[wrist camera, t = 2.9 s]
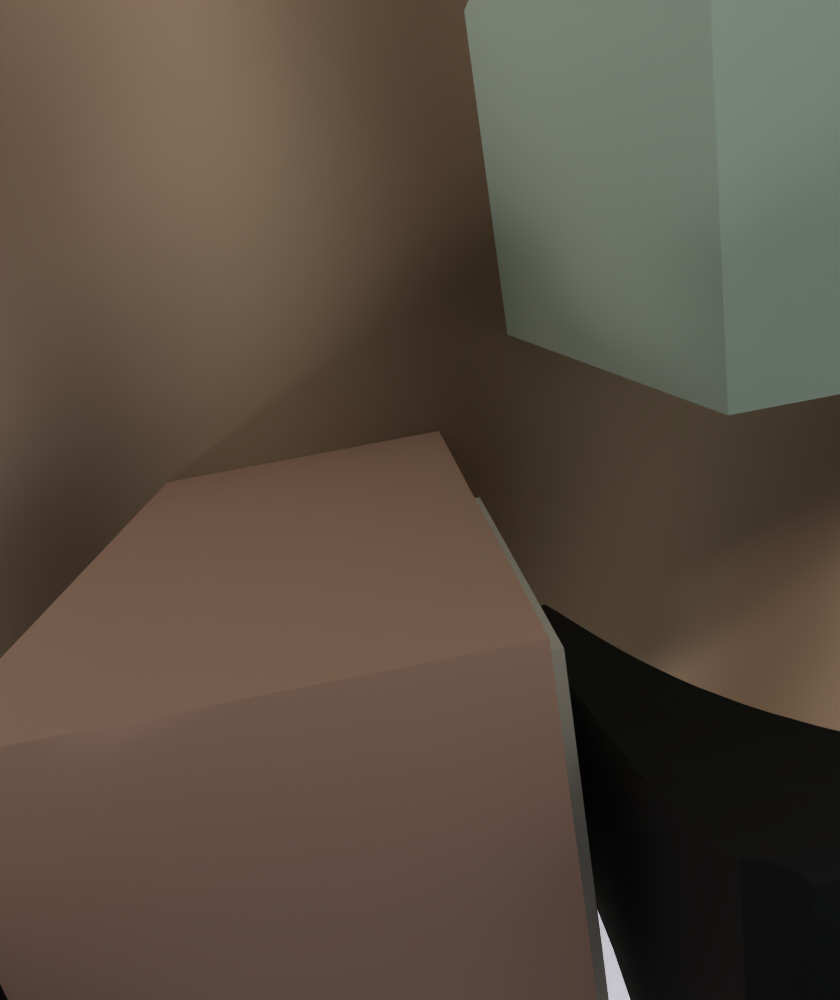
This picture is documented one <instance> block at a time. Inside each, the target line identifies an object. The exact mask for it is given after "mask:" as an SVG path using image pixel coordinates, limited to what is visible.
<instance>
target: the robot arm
mask: <svg viewBox="0 0 840 1000" xmlns="http://www.w3.org/2000/svg"><path fill="white" fill-rule="evenodd" d="M540 606H541V608H542V610H543V611H544V613H545V615H546V617H547V619H548V620H549V622H550V624H551V626H552V628H553V629H554V631H555V633H556V635H557V637H558V638H559V640H560V642H561V644H562V645H563V647H564V652H565V660H566V668H567V676H568V684H569V692H570V700H571V707H572V715H573V723H574V731H575V739H576V747H577V755H578V763H579V771H580V778H581V786H582V794H583V802H584V810H585V818H586V826H587V834H588V842H589V850H590V857H591V865H592V873H593V881H594V889H595V897H596V905H597V910H598V912H599V914H600V917H601V919H602V922H603V924H604V927H605V929H606V932H607V934H608V937H609V939H610V942H611V944H612V947H613V949H614V952H615V955H616V958H617V961H618V964H619V967H620V970H621V973H622V976H623V979H624V982H625V985H626V987H627V990H628V993H629V996H630V999H631V1000H840V731H837V730H833V729H828V728H824V727H820V726H816V725H813V724H809V723H805V722H802V721H798V720H795V719H791V718H788V717H784V716H781V715H777V714H773V713H770V712H767V711H763V710H760V709H757V708H754V707H751V706H748V705H745V704H742V703H739V702H736V701H734V700H731V699H729V698H726V697H723V696H721V695H718V694H715V693H713V692H710V691H707V690H705V689H702V688H699V687H697V686H694V685H692V684H690V683H687V682H685V681H683V680H680V679H678V678H676V677H674V676H672V675H670V674H668V673H666V672H663V671H661V670H659V669H657V668H655V667H653V666H651V665H649V664H647V663H645V662H643V661H641V660H639V659H637V658H635V657H633V656H631V655H629V654H627V653H626V652H624V651H622V650H620V649H618V648H617V647H615V646H613V645H611V644H610V643H608V642H606V641H604V640H603V639H601V638H599V637H598V636H596V635H594V634H593V633H591V632H589V631H588V630H586V629H584V628H583V627H581V626H579V625H578V624H576V623H575V622H573V621H571V620H570V619H568V618H567V617H565V616H563V615H562V614H560V613H559V612H557V611H555V610H554V609H552V608H550V607H549V606H547V605H540ZM0 1000H8V999H7V997H6V995H5V993H4V991H3V989H2V987H1V984H0Z"/></svg>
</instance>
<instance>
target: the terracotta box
mask: <svg viewBox="0 0 840 1000" xmlns="http://www.w3.org/2000/svg"><path fill="white" fill-rule="evenodd" d="M0 984H1V987H2V989H3V991H4V993H5V995H6V997H7V999H8V1000H609V999H608V992H607V984H606V976H605V968H604V960H603V952H602V944H601V936H600V928H599V921H598V913H597V905H596V897H595V889H594V881H593V873H592V865H591V857H590V850H589V842H588V834H587V826H586V818H585V810H584V802H583V794H582V786H581V778H580V771H579V763H578V755H577V747H576V739H575V731H574V723H573V715H572V707H571V700H570V692H569V684H568V676H567V668H566V660H565V652H564V647H563V645H562V644H561V642H560V640H559V638H558V637H557V635H556V633H555V631H554V629H553V628H552V626H551V624H550V622H549V620H548V619H547V617H546V615H545V613H544V611H543V610H542V608H541V606H540V604H539V602H538V601H537V599H536V597H535V595H534V593H533V592H532V590H531V588H530V586H529V585H528V583H527V581H526V579H525V577H524V576H523V574H522V572H521V570H520V568H519V567H518V565H517V563H516V561H515V559H514V558H513V556H512V554H511V552H510V550H509V549H508V547H507V545H506V543H505V541H504V540H503V538H502V536H501V534H500V533H499V531H498V529H497V527H496V525H495V524H494V522H493V520H492V518H491V516H490V515H489V513H488V511H487V509H486V507H485V506H484V504H483V502H482V500H481V498H480V497H478V498H474V496H473V494H472V492H471V490H470V488H469V486H468V484H467V483H466V481H465V479H464V477H463V475H462V473H461V471H460V469H459V467H458V466H457V464H456V462H455V460H454V458H453V456H452V454H451V452H450V451H449V449H448V447H447V445H446V443H445V441H444V439H443V437H442V436H441V434H440V432H439V431H436V432H431V433H426V434H420V435H415V436H410V437H404V438H399V439H394V440H388V441H383V442H378V443H373V444H367V445H362V446H357V447H351V448H346V449H341V450H336V451H330V452H325V453H320V454H314V455H309V456H304V457H299V458H293V459H288V460H283V461H277V462H272V463H267V464H261V465H256V466H251V467H246V468H240V469H235V470H230V471H224V472H219V473H214V474H209V475H203V476H198V477H193V478H187V479H182V480H177V481H172V482H167V483H166V484H165V485H164V486H163V487H162V488H161V489H160V490H159V492H158V493H157V494H156V495H155V496H154V497H153V498H152V499H151V500H150V501H149V502H148V503H147V504H146V505H145V506H144V507H143V508H142V509H141V511H140V512H139V513H138V514H137V515H136V516H135V517H134V518H133V519H132V520H131V521H130V522H129V523H128V524H127V525H126V526H125V527H124V528H123V530H122V531H121V532H120V533H119V534H118V535H117V536H116V537H115V538H114V539H113V540H112V541H111V542H110V543H109V544H108V545H107V546H106V547H105V549H104V550H103V551H102V552H101V553H100V554H99V555H98V556H97V557H96V558H95V559H94V560H93V561H92V562H91V563H90V564H89V565H88V567H87V568H86V569H85V570H84V571H83V572H82V573H81V574H80V575H79V576H78V577H77V578H76V579H75V580H74V581H73V582H72V583H71V584H70V586H69V587H68V588H67V589H66V590H65V591H64V592H63V593H62V594H61V595H60V596H59V597H58V598H57V599H56V600H55V601H54V602H53V603H52V605H51V606H50V607H49V608H48V609H47V610H46V611H45V612H44V613H43V614H42V615H41V616H40V617H39V618H38V619H37V620H36V621H35V622H34V624H33V625H32V626H31V627H30V628H29V629H28V630H27V631H26V632H25V633H24V634H23V635H22V636H21V637H20V638H19V639H18V640H17V641H16V643H15V644H14V645H13V646H12V647H11V648H10V649H9V650H8V651H7V652H6V653H5V654H4V655H3V656H2V657H1V658H0Z"/></svg>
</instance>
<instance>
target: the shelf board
mask: <svg viewBox="0 0 840 1000" xmlns="http://www.w3.org/2000/svg"><path fill="white" fill-rule="evenodd" d="M467 2H468V0H0V658H1V657H2V656H3V655H4V654H5V653H6V652H7V651H8V650H9V649H10V648H11V647H12V646H13V645H14V644H15V643H16V641H17V640H18V639H19V638H20V637H21V636H22V635H23V634H24V633H25V632H26V631H27V630H28V629H29V628H30V627H31V626H32V625H33V624H34V622H35V621H36V620H37V619H38V618H39V617H40V616H41V615H42V614H43V613H44V612H45V611H46V610H47V609H48V608H49V607H50V606H51V605H52V603H53V602H54V601H55V600H56V599H57V598H58V597H59V596H60V595H61V594H62V593H63V592H64V591H65V590H66V589H67V588H68V587H69V586H70V584H71V583H72V582H73V581H74V580H75V579H76V578H77V577H78V576H79V575H80V574H81V573H82V572H83V571H84V570H85V569H86V568H87V567H88V565H89V564H90V563H91V562H92V561H93V560H94V559H95V558H96V557H97V556H98V555H99V554H100V553H101V552H102V551H103V550H104V549H105V547H106V546H107V545H108V544H109V543H110V542H111V541H112V540H113V539H114V538H115V537H116V536H117V535H118V534H119V533H120V532H121V531H122V530H123V528H124V527H125V526H126V525H127V524H128V523H129V522H130V521H131V520H132V519H133V518H134V517H135V516H136V515H137V514H138V513H139V512H140V511H141V509H142V508H143V507H144V506H145V505H146V504H147V503H148V502H149V501H150V500H151V499H152V498H153V497H154V496H155V495H156V494H157V493H158V492H159V490H160V489H161V488H162V487H163V486H164V485H165V484H166V483H167V482H172V481H177V480H182V479H187V478H193V477H198V476H203V475H209V474H214V473H219V472H224V471H230V470H235V469H240V468H246V467H251V466H256V465H261V464H267V463H272V462H277V461H283V460H288V459H293V458H299V457H304V456H309V455H314V454H320V453H325V452H330V451H336V450H341V449H346V448H351V447H357V446H362V445H367V444H373V443H378V442H383V441H388V440H394V439H399V438H404V437H410V436H415V435H420V434H426V433H431V432H436V431H439V432H440V434H441V436H442V437H443V439H444V441H445V443H446V445H447V447H448V449H449V451H450V452H451V454H452V456H453V458H454V460H455V462H456V464H457V466H458V467H459V469H460V471H461V473H462V475H463V477H464V479H465V481H466V483H467V484H468V486H469V488H470V490H471V492H472V494H473V496H474V498H478V497H480V498H481V500H482V502H483V504H484V506H485V507H486V509H487V511H488V513H489V515H490V516H491V518H492V520H493V522H494V524H495V525H496V527H497V529H498V531H499V533H500V534H501V536H502V538H503V540H504V541H505V543H506V545H507V547H508V549H509V550H510V552H511V554H512V556H513V558H514V559H515V561H516V563H517V565H518V567H519V568H520V570H521V572H522V574H523V576H524V577H525V579H526V581H527V583H528V585H529V586H530V588H531V590H532V592H533V593H534V595H535V597H536V599H537V601H538V602H539V604H540V605H547V606H549V607H550V608H552V609H554V610H555V611H557V612H559V613H560V614H562V615H563V616H565V617H567V618H568V619H570V620H571V621H573V622H575V623H576V624H578V625H579V626H581V627H583V628H584V629H586V630H588V631H589V632H591V633H593V634H594V635H596V636H598V637H599V638H601V639H603V640H604V641H606V642H608V643H610V644H611V645H613V646H615V647H617V648H618V649H620V650H622V651H624V652H626V653H627V654H629V655H631V656H633V657H635V658H637V659H639V660H641V661H643V662H645V663H647V664H649V665H651V666H653V667H655V668H657V669H659V670H661V671H663V672H666V673H668V674H670V675H672V676H674V677H676V678H678V679H680V680H683V681H685V682H687V683H690V684H692V685H694V686H697V687H699V688H702V689H705V690H707V691H710V692H713V693H715V694H718V695H721V696H723V697H726V698H729V699H731V700H734V701H736V702H739V703H742V704H745V705H748V706H751V707H754V708H757V709H760V710H763V711H767V712H770V713H773V714H777V715H781V716H784V717H788V718H791V719H795V720H798V721H802V722H805V723H809V724H813V725H816V726H820V727H824V728H828V729H833V730H837V731H840V394H838V395H833V396H827V397H822V398H817V399H812V400H806V401H801V402H796V403H791V404H785V405H780V406H775V407H770V408H764V409H759V410H754V411H749V412H743V413H738V414H733V415H726V414H723V413H720V412H717V411H715V410H712V409H709V408H707V407H704V406H701V405H698V404H696V403H693V402H690V401H687V400H685V399H682V398H679V397H676V396H674V395H671V394H668V393H666V392H663V391H660V390H657V389H655V388H652V387H649V386H646V385H644V384H641V383H638V382H636V381H633V380H630V379H627V378H625V377H622V376H619V375H616V374H614V373H611V372H608V371H605V370H603V369H600V368H597V367H595V366H592V365H589V364H586V363H584V362H581V361H578V360H575V359H573V358H570V357H567V356H565V355H562V354H559V353H556V352H554V351H551V350H548V349H545V348H543V347H540V346H537V345H534V344H532V343H529V342H526V341H524V340H521V339H518V338H515V337H513V336H510V335H507V328H506V320H505V313H504V305H503V298H502V290H501V283H500V275H499V268H498V260H497V253H496V245H495V238H494V231H493V223H492V216H491V208H490V201H489V193H488V186H487V178H486V171H485V163H484V156H483V148H482V141H481V133H480V126H479V118H478V111H477V103H476V96H475V88H474V81H473V73H472V66H471V59H470V51H469V44H468V36H467V29H466V21H465V14H464V10H465V8H466V5H467Z"/></svg>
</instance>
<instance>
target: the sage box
mask: <svg viewBox="0 0 840 1000" xmlns="http://www.w3.org/2000/svg"><path fill="white" fill-rule="evenodd" d="M464 14H465V21H466V29H467V36H468V44H469V51H470V59H471V66H472V73H473V81H474V88H475V96H476V103H477V111H478V118H479V126H480V133H481V141H482V148H483V156H484V163H485V171H486V178H487V186H488V193H489V201H490V208H491V216H492V223H493V231H494V238H495V245H496V253H497V260H498V268H499V275H500V283H501V290H502V298H503V305H504V313H505V320H506V328H507V335H510V336H513V337H515V338H518V339H521V340H524V341H526V342H529V343H532V344H534V345H537V346H540V347H543V348H545V349H548V350H551V351H554V352H556V353H559V354H562V355H565V356H567V357H570V358H573V359H575V360H578V361H581V362H584V363H586V364H589V365H592V366H595V367H597V368H600V369H603V370H605V371H608V372H611V373H614V374H616V375H619V376H622V377H625V378H627V379H630V380H633V381H636V382H638V383H641V384H644V385H646V386H649V387H652V388H655V389H657V390H660V391H663V392H666V393H668V394H671V395H674V396H676V397H679V398H682V399H685V400H687V401H690V402H693V403H696V404H698V405H701V406H704V407H707V408H709V409H712V410H715V411H717V412H720V413H723V414H726V415H733V414H738V413H743V412H749V411H754V410H759V409H764V408H770V407H775V406H780V405H785V404H791V403H796V402H801V401H806V400H812V399H817V398H822V397H827V396H833V395H838V394H840V0H468V2H467V5H466V8H465V10H464Z"/></svg>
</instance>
